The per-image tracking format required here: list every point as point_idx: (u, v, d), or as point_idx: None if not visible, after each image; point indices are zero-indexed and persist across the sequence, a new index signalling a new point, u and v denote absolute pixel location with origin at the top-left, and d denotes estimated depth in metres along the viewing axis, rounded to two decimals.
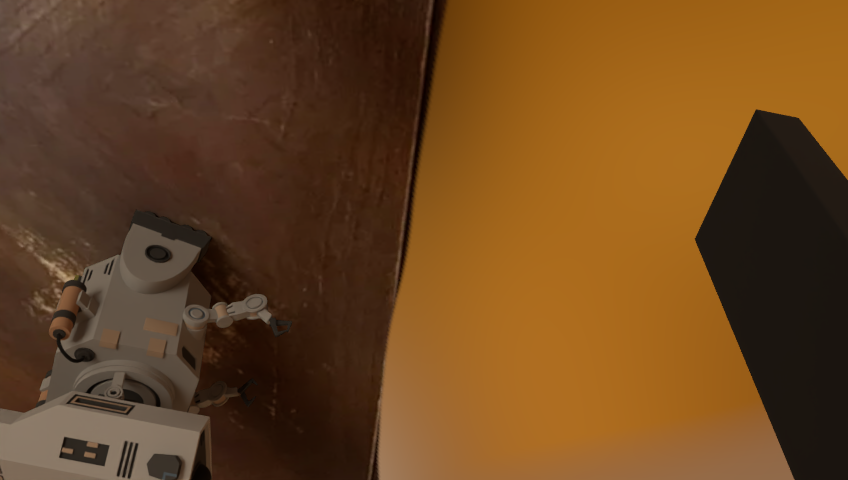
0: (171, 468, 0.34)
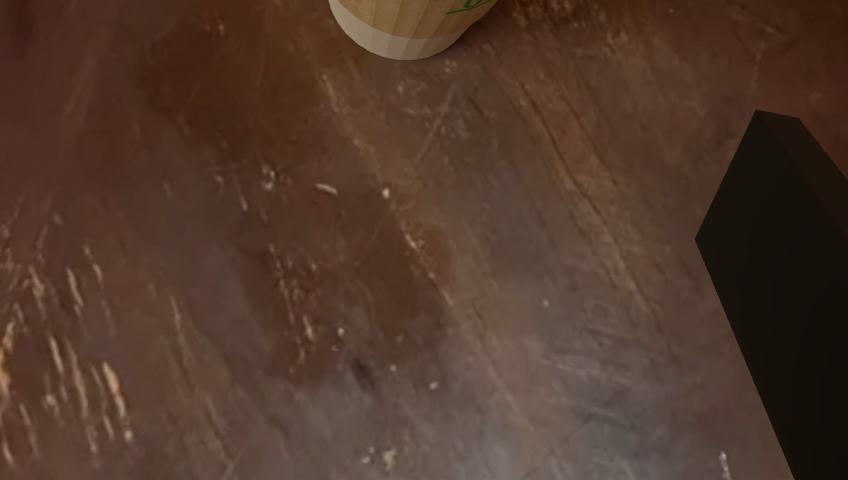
0: None
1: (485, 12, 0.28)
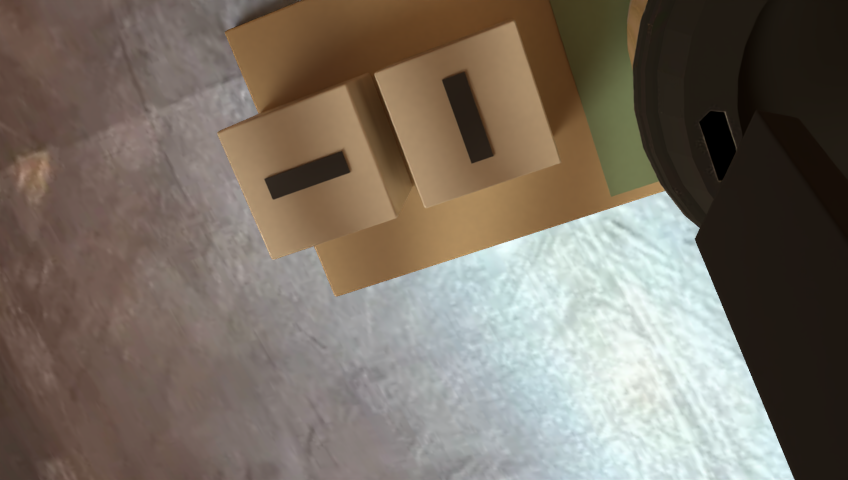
0: None
1: None
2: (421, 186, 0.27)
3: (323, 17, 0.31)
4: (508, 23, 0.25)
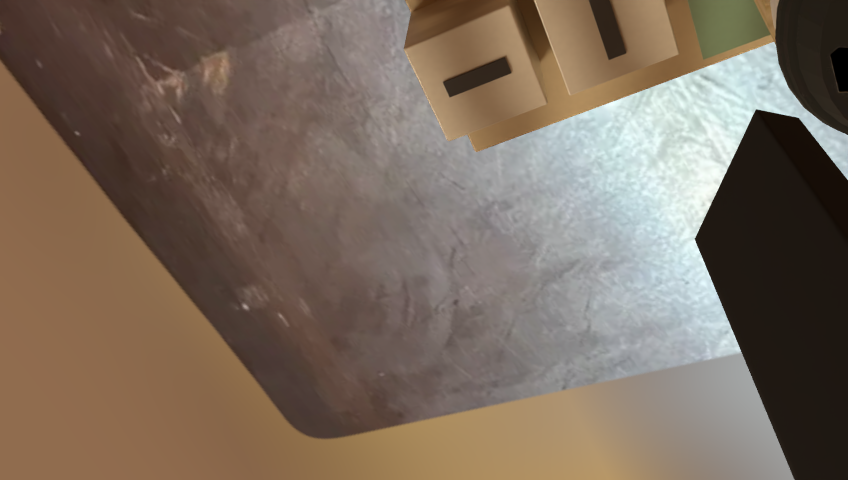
0: None
1: None
2: (567, 79, 0.35)
3: None
4: None
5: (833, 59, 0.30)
